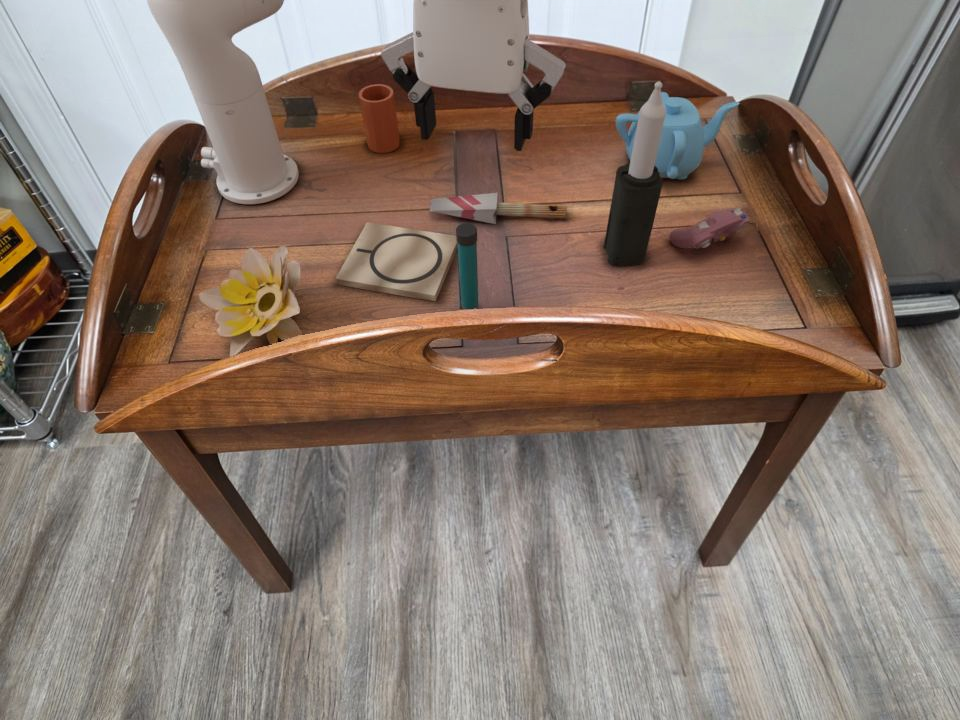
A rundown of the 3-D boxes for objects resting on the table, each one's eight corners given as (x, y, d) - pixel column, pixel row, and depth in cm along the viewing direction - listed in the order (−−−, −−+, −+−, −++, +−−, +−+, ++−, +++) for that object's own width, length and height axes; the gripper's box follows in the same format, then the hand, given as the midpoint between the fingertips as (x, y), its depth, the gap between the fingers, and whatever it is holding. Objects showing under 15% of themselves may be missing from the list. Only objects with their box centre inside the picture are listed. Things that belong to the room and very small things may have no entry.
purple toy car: (678, 264, 91) (704, 243, 84) (663, 236, 92) (688, 213, 85) (733, 241, 94) (762, 220, 87) (718, 214, 94) (746, 191, 88)
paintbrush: (431, 188, 95) (567, 197, 95) (432, 203, 98) (564, 212, 97) (428, 204, 93) (567, 213, 93) (429, 219, 95) (565, 228, 95)
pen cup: (362, 151, 107) (353, 100, 100) (374, 132, 111) (366, 82, 103) (393, 155, 106) (386, 104, 99) (404, 136, 110) (398, 86, 103)
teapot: (603, 167, 104) (611, 103, 95) (659, 128, 109) (672, 64, 100) (667, 203, 98) (682, 139, 89) (723, 160, 103) (742, 96, 94)
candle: (602, 242, 92) (630, 71, 72) (637, 239, 92) (675, 68, 73) (609, 267, 89) (641, 95, 69) (646, 264, 89) (688, 92, 69)
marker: (459, 318, 83) (453, 234, 73) (463, 305, 85) (459, 221, 74) (477, 322, 83) (473, 238, 72) (481, 308, 84) (479, 224, 74)
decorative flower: (195, 286, 86) (186, 226, 78) (281, 274, 90) (281, 218, 83) (217, 372, 78) (210, 316, 70) (311, 355, 83) (313, 300, 75)
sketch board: (337, 284, 88) (335, 277, 87) (368, 228, 95) (366, 221, 94) (435, 301, 85) (435, 294, 84) (459, 242, 93) (459, 235, 92)
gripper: (580, -61, 53) (564, 127, 67) (382, -73, 56) (405, 109, 70) (565, -24, 49) (551, 169, 62) (351, -39, 52) (382, 149, 65)
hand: (474, 137), depth 66 cm, fingers open, 9 cm apart
